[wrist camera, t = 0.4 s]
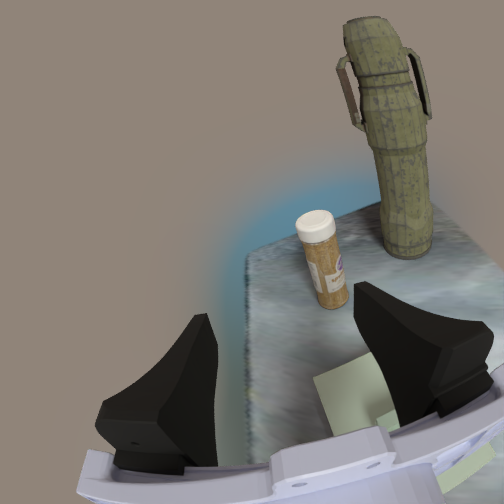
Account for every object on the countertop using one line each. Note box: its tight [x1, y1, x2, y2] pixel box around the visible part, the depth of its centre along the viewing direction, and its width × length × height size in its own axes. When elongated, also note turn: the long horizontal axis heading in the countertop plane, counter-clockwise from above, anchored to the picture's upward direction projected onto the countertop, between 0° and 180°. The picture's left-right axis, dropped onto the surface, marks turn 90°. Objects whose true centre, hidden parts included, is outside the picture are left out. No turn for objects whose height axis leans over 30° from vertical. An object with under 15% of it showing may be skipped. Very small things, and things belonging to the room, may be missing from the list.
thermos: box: [336, 16, 433, 260], centre depth 32 cm, size 9×12×35 cm
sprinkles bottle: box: [296, 210, 349, 309], centre depth 35 cm, size 5×5×14 cm
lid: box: [313, 352, 496, 494], centre depth 16 cm, size 17×12×5 cm
